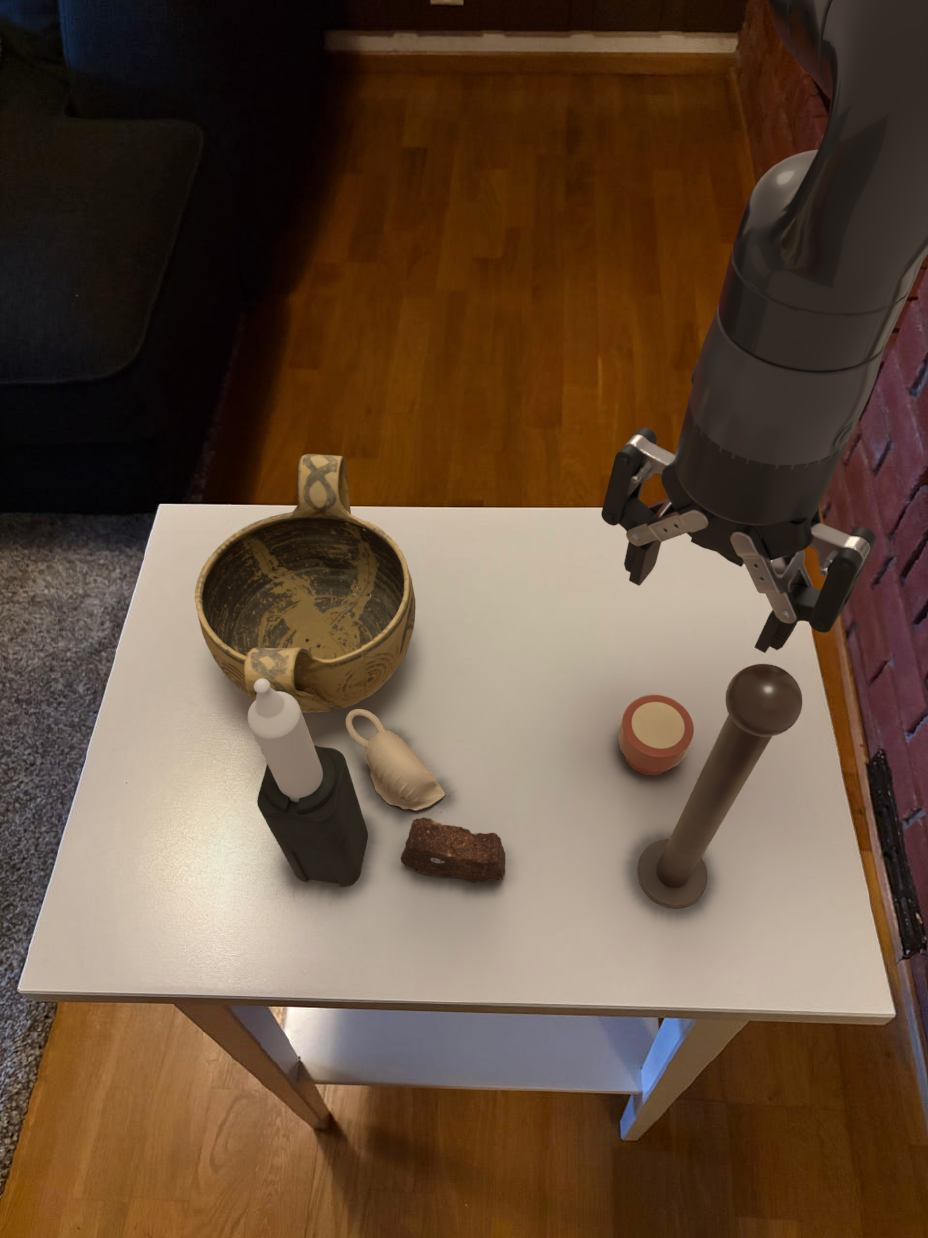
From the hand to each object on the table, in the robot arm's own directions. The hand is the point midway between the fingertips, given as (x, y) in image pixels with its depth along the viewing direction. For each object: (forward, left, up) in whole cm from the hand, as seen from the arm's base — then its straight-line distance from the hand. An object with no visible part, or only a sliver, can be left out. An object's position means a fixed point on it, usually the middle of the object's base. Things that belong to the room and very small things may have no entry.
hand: (701, 606), depth 53 cm
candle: (+15, +22, -20) cm, 33 cm away
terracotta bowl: (0, 0, -20) cm, 20 cm away
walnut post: (-6, +8, -20) cm, 22 cm away
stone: (+7, +16, -20) cm, 27 cm away
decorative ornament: (+15, +14, -20) cm, 29 cm away
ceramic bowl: (+27, +9, -20) cm, 35 cm away
